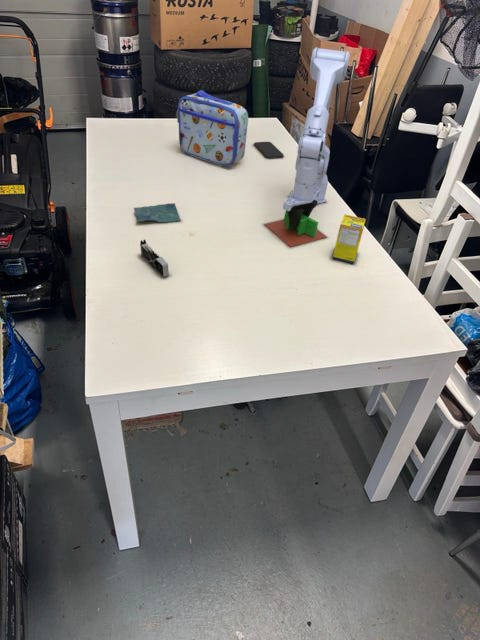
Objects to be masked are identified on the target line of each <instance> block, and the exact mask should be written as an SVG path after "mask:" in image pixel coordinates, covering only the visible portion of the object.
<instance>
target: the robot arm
mask: <svg viewBox="0 0 480 640" xmlns="http://www.w3.org/2000/svg"><path fill="white" fill-rule="evenodd" d="M350 54H351V53H350V52H349V50H347V51H343V50H335V49H328V48H322V47H321V48H319V47H318V46H316V47H314V49H312V54H311V57H310V64H309V74H310V78H311V80H313V81H315V82H316V84H315V91H314V92H315V93H314V98H313V99H314V101H313V106H312V107H310V108H309V109H308V110H307V113H306V118H305V121H304V127H303V132H302V135H301V136H300V138H299V141H298V146H297V155H296V159H295V165H294V169H295V176H294V177H295V178H294V184H293V189H292V190H290V191H289V197H288V198H287V200H286V201H284V202H283V206H282V207H283V208H282V209H283V210H284V211H286V210H287V212H288V216H289V222H290V227H291V228H293V229H297V227H298V224H299V220H300V218H301V215H302V214H303V215H305V216H307V217H309V218H310V216H311V214H312V212H313V211H314V209H315V208H316V206H317V205H318V204H322V203H326V201H327V200H326V199H325V198H326V195H327V194H326V193H327V188H328V184H329V182H328V181H329V179H328V175H327V171H328V167H329V162H330V154H331V150H330V148H329V146H327V145H326V135H327V129H328V125H329V119H330V107H331V102H332V96H333V93H334V92H333V91H334V89H335V88H336V86H337V85H339V84H343V83H344V81H345V79H346V76H347V73H348V67H349V62H350V57H351V55H350Z"/></svg>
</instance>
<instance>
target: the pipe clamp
mask: <svg viewBox="0 0 480 640" xmlns="http://www.w3.org/2000/svg"><path fill="white" fill-rule="evenodd" d="M284 211H285V212H284V217H283V220H284V222H285V223H287V224H286V229H293V228H291V227H290V222H289V216H288V212H287V210H284ZM318 225H319V222H318V221H317V220H316V219H313V218H311V217H310V216H309V217H307V216H305V215H303V214H302V215H301V218H300V220H299V224H298V227H297V229H295V230H297V231H298V234H297V235H299V236H300V235H302V234H304V233H306V234H308V235H310V236H312V237H314V236H315V235H316V231H317V230H318ZM311 227H312V228H311Z"/></svg>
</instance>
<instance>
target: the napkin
mask: <svg viewBox="0 0 480 640" xmlns="http://www.w3.org/2000/svg"><path fill="white" fill-rule="evenodd" d="M286 224H287V223H285V222H284V219H279V220H275V221H271V222H267V223H264V226H265V227H266V228H267V229H269V230H270V232H272V233H273V234H274V235H275V236H277V238H278V239H280V240H281V241H282V242H283V243H284V244H285V245H286V246H288V247H289V248H293V247H296V246H301V245H304V244H308V243H311V242H316V241H320V240H323V239H326V238H327V236H326V235H325V234H324V233H323V232H321V231H320V230H319V229H317V231H316V235H315V236H314V237H312V236H310V235H308V234H306V233H304V234H302V235H300V236H299V235H297V234H298V231H297V230H295V229H286ZM311 228H312V227H311Z"/></svg>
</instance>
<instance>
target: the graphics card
mask: <svg viewBox="0 0 480 640" xmlns="http://www.w3.org/2000/svg"><path fill="white" fill-rule="evenodd" d="M139 247H140V253H141V254H140V257H142V259H144V260H145V261H146V263H148V264H149V265H150V266H151V267H152V268H153V269H154V270H155V271H156V272H157V273H158V274H159V275H160V276H161V277H162V278H166V277H168V276H169V275H170V271H169V264H168V262H167V261H166V260H165V259H164V258H163V257H161V256H160V255H158V254H157V252H155V250H153V248H152V247H151V246H150V245H149V244H148V243H147V241H146V239H141V240H140V244H139Z"/></svg>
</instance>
